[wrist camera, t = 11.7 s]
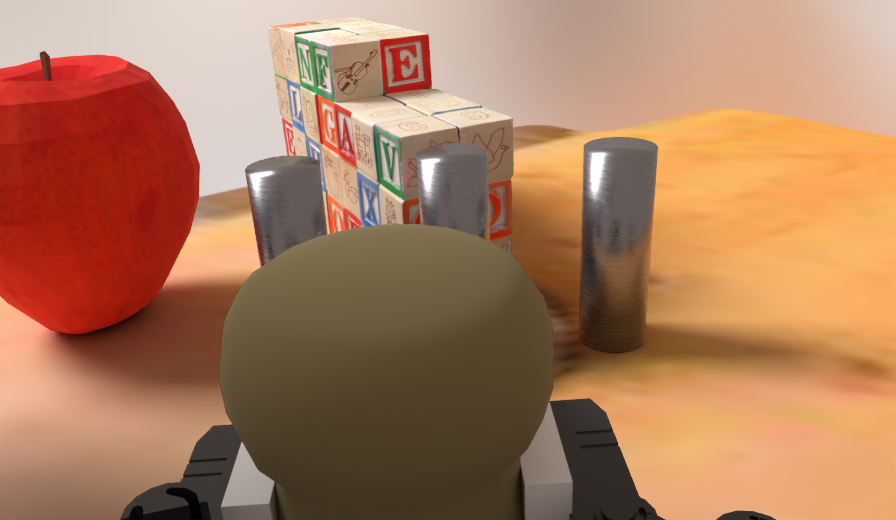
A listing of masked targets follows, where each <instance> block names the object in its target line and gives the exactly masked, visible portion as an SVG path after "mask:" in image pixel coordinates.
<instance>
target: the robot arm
mask: <svg viewBox="0 0 896 520" xmlns="http://www.w3.org/2000/svg"><path fill="white" fill-rule="evenodd" d="M520 464H521V477H522V497H523V517H524V520H665V519H663V518H661V517H659V516H658V515H657V513H656V511H655V509H654V508H653V507H652V506H651V505H650V504H649V503H648V502H647V501H646V500H644V499H642V498H640V497H639V495H638V492H637V490H636V487H635V485H634V482H633V480H632V477H631V475H630V472H629V470H628V467H627V464H626V462H625V459H624V457H623V454H622V452H621V449H620V447H618V442H617V439H616V437H615V434H614V433H613V429H612V427H611V424H610V422H609V419H608V417H607V414H606V412H605V411H604V410H602V409H601V408H600V407H599V406H598V405H597V404H596V403H594V402H593V401H592V400H591V399H590V398H589V399H575V400H560V401H549V403H548V406H547V409H546V413H545V416H544V419H543V421H542V423H541V425H540V427H539V429H538V431H537V433H536V435H535V436H534V438H533V440H532V442H531V444H530V446H529V448H528V449H527V450H526V451H525V453H524V454H523V455H522V456H521V458H520ZM120 520H278V517H277V507H276V482H274V481H273V480H272V479H270V478H269V477H267V476H266V475H264V474H263V473H261V472H260V471H258V469H257V468H256V466H255V464H254V462H253V460H252V459H251V457H250V455H249V453H248V452H247V450H246V448H245V446H244V445H243V443H242V441H241V439H240V437H239V435H238V434H237V432H236V430H235V428H234V426H233V425H218V426H213V427H212V428H211V429H210V430H209V431H208V432H207V433H206V434H205V435H204V436H203V437H202V438H201V439H200V440H199V441H198V442H197V443H196V445H195V448H194V450H193V452H192V455H191V457H190V460H189V464H188V465H187V467H186V470H185V472H184V474H183V479H181V482H177V483H167V484H163V485H160V486H157V487H154V488H151V489H149V490H147V491H146V492H144V493H142V494H140V495H139V496H137V497H136V498H135V499H134V500H133V501H132V502H131V503H130V504H129V505H128V506H127V507H126V508H125V510H124V512H123V514H122V516H121V518H120ZM717 520H776V519H774V518H772V517H771V516H768V515H764V514H761V513H757V512H754V511H734V512H730V513H726V514H723V515H722V516H720V517H719V518H718V519H717Z"/></svg>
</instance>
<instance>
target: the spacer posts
mask: <svg viewBox="0 0 896 520" xmlns="http://www.w3.org/2000/svg"><path fill="white" fill-rule="evenodd" d="M657 153H658V146H657V145H656V144H655V143H653V142H650V141H647V140H643V139H638V138H629V137H610V138H601V139H596V140H592V141H590V142H588V143H586V144H585V145H584V162H583V198H582V234H581V270H580V305H579V338H580V340H581V341H582V342H583V343H584V344H586V345H587V346H589V347H591V348H593V349H596V350H600V351H605V352H625V351H630V350H633V349H636V348H638V347H639V346H641V345H642V344H643V342H644V340H645V328H646V313H647V299H648V284H649V270H650V255H651V241H652V226H653V211H654V197H655V182H656V168H657ZM416 162H417V178H418V193H419V209H420V224H421V225H429V226H438V227H447V228H451V229H455V230H458V231H462V232H465V233H469V234H473V235H476V236H478V237H480V238H483V239H485V240H487V241H490V229H489V189H488V152H487V150H486V149H485V148H484V147H481V146H478V145H474V144H466V143H448V144H439V145H434V146H429V147H426V148H423V149H421V150H420V151H418V152H417V153H416ZM245 172H246V178H247V184H248V191H249V197H250V203H251V210H252V216H253V222H254V228H255V235H256V241H257V247H258V253H259V260H260V266H261V267H262V266H264V265H265V264H267V263H268V262H270V261H271V260H273V259H274V258H276V257H277V256H279V255H280V254H282V253H283V252H285V251H286V250H288V249H289V248H291V247H294V246H296V245H299V244H301V243H303V242H306V241H308V240H311V239H313V238H316V237H318V236H323V235H327V234H328V232H327V224H326V215H325V207H324V198H323V190H322V182H321V173H320V165H319V161H318V160H317V159H315V158H312V157H308V156H280V157H273V158H268V159H264V160H260V161H257V162H254V163H253V164H251V165H249V166H248V167H247V168H246V169H245Z"/></svg>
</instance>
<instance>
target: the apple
mask: <svg viewBox="0 0 896 520" xmlns="http://www.w3.org/2000/svg"><path fill="white" fill-rule="evenodd" d="M40 59H41V60H36V61H33V62H29V63H26V64H22V65H19V66H13V67H7V68H1V69H0V296H1V297H2V298H3V299H4V300H5V301H6V302H7V303H9V304H10V305H12V306H13V307H15V308H16V309H18V310H20V311H21V312H23V313H24V314H26V315H27V316H29V317H31V318H32V319H34V320H35V321H37V322H38V323H40V324H42V325H43V326H45V327H46V328H48V329H49V330H52V331H57V332H62V333H67V334H85V333H88V332H92V331H95V330H98V329H101V328H105V327H108V326H111V325H114V324H116V323H118V322H120V321H122V320H124V319H126V318H128V317H130V316H132V315H134V314H135V313H137V312H138V311H139V310H141V309H142V308H144V307H145V306H146V305H147V304H148V303H149V302H150V301H151V300H152V299H153V298H154V297H155V296H156V295H157V294H158V292H159V291H160V289H161V288H162V286H163V284H164V283H165V281H166V279H167V277H168V275H169V273H170V271H171V269H172V267H173V265H174V263H175V261H176V259H177V257H178V255H179V253H180V251H181V249H182V247H183V245H184V243H185V241H186V239H187V237H188V235H189V233H190V230H191V226H192V222H193V218H194V214H195V211H196V207H197V203H198V199H199V171H200V170H199V169H200V165H199V162H198V159H197V156H196V153H195V149H194V147H193V144H192V141H191V138H190V135H189V132H188V128H187V125H186V122H185V121H184V119H183V117H182V115H181V114H180V112H179V110H178V109H177V107H176V105H175V103H174V102H173V100H172V99H171V98H170V97H169V96H168V94H167V93H166V92H165V91H164V90H163V88H162V87H161V86H160V85H159V84H158V82H157V81H156V80H155V79H154V78H153V76H152V75H151V74H150V73H149V72H147V71H146V70H144V69H142V68H140V67H137V66H135V65H133V64H131V63H130V62H128V61H125V60H123V59H121V58H119V57H115V56H105V55H86V56H71V57H61V58H52V59H50V56H48V55H47V53H46V52H45V51H44V52H41V53H40Z"/></svg>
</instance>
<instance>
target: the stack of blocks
mask: <svg viewBox="0 0 896 520" xmlns="http://www.w3.org/2000/svg"><path fill="white" fill-rule="evenodd" d="M268 34H269V41H270V46H271V53H272V58H273V64H274V70H275V81H276V89H277V95H278V102H279V109H280V114H281V115H282V122H283V130H284V136H285V142H286V148H287V155H288V156H308V157H312V158H315V159H317V160H318V161H319V165H320V173H321V182H322V190H323V198H324V207H325V215H326V224H327V232H328V234H331V233H335V232H339V231H343V230H347V229H352V228H360V227H368V226H376V225H384V224H420V209H419V193H418V178H417V162H416V153H417V152H418V151H420V150H421V149H423V148H426V147H429V146H434V145H439V144H448V143H466V144H474V145H478V146H481V147H484V148H485V149H486V150H487V152H488V189H489V229H490V242H491V243H493V244H495V245H497V246H499V247H500V248H502V249H504V250H506V251H507V252H509V253H511V254H512V252H511V236H510V235H511V234H512V189H511V178H512V176H513V163H514V162H513V119H512V118H511V117H509V116H506V115H503V114H500V113H498V112H495V111H492V110H490V109H487V108H482V106H481V105H478V104H475V103H473V102H470V101H467V100H465V99H462V98H459V97H455V96H454V95H452V94H449V93H446V92H443V91H440V90H437V89H431V88H432V82H431V67H430V50H429V36H428V34H426V33H422V32H417V31H413V30H408V29H404V28H401V27H397V26H392V25H388V24H386V25H385V24H381V23H376V22H371V21H368V20H365V19H361V18H357V17H352V18H341V19H331V20H320V21H315V22H314V23H313V22H304V23H296V24H287V25H279V26H271V27H268ZM420 225H421V224H420Z"/></svg>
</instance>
